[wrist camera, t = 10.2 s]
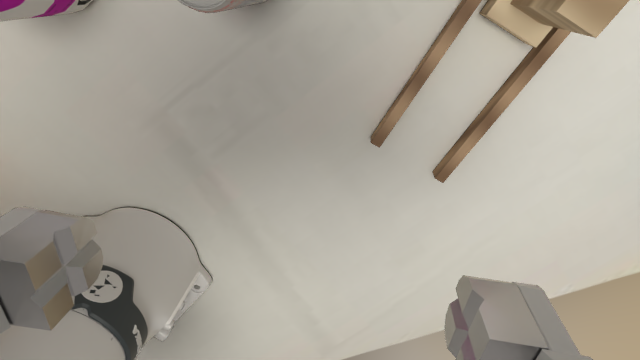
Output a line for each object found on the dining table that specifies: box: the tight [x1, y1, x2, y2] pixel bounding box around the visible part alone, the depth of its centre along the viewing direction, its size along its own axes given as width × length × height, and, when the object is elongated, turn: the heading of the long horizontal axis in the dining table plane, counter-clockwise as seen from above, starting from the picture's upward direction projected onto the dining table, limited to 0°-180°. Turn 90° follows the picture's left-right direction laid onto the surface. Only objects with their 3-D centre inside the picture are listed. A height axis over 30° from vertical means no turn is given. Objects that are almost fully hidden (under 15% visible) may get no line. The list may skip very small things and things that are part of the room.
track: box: [371, 0, 571, 183], centre depth 31 cm, size 26×9×2 cm, turn 152°
